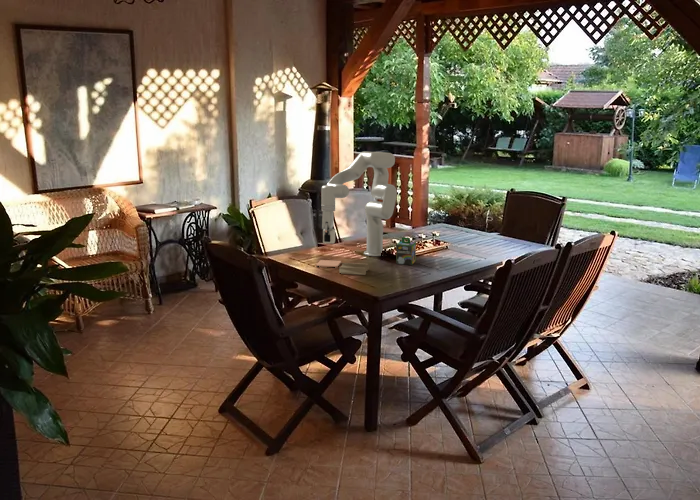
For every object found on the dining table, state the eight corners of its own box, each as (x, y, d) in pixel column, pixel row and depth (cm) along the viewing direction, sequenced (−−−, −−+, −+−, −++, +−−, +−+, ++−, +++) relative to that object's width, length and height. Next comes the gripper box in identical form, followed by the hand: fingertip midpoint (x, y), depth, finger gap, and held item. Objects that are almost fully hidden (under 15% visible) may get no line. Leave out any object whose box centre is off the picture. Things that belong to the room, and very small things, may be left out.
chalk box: (415, 261, 369) (416, 236, 366) (411, 265, 361) (412, 239, 357) (400, 260, 372) (400, 234, 369) (395, 264, 364) (396, 238, 360)
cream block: (324, 240, 362) (324, 228, 360) (335, 241, 361) (335, 228, 360) (323, 243, 356) (323, 230, 354) (333, 243, 355) (333, 230, 354)
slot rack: (342, 268, 353) (342, 262, 352) (367, 270, 351) (368, 263, 350) (339, 273, 344) (339, 267, 343) (365, 274, 342) (365, 268, 341)
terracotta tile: (320, 261, 368) (320, 259, 368) (341, 262, 367) (341, 260, 366) (315, 267, 357) (315, 265, 357) (337, 267, 355) (337, 266, 355)
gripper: (324, 205, 363) (324, 237, 367) (318, 210, 347) (318, 243, 351) (337, 205, 362) (337, 237, 366) (332, 210, 345) (332, 244, 350)
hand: (328, 240), depth 358 cm, fingers closed on cream block, 6 cm apart
